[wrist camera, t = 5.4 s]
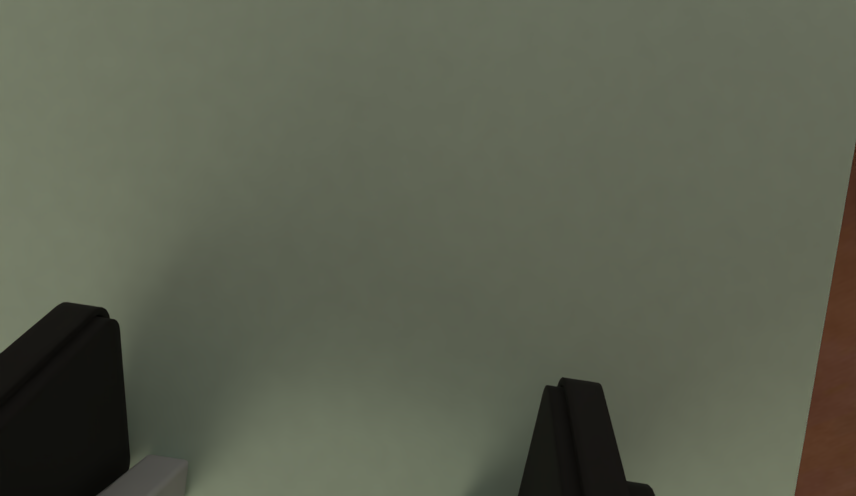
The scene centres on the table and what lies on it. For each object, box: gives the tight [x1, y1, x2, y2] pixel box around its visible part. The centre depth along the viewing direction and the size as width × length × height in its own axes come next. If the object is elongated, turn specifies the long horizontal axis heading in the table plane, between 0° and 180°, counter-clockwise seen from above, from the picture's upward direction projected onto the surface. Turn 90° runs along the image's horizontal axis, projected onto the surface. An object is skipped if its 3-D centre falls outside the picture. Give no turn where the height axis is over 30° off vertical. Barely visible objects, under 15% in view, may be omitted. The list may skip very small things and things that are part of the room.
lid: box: [0, 0, 856, 496], centre depth 9 cm, size 16×15×5 cm
